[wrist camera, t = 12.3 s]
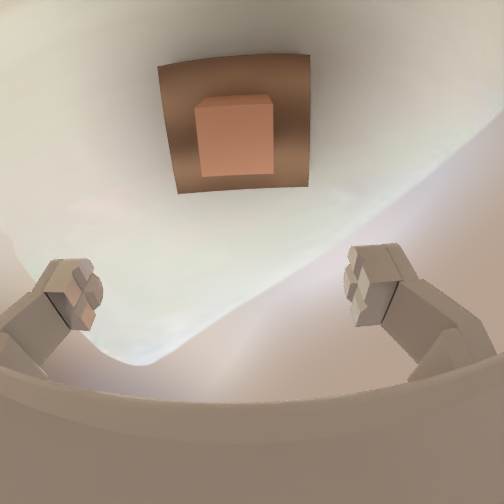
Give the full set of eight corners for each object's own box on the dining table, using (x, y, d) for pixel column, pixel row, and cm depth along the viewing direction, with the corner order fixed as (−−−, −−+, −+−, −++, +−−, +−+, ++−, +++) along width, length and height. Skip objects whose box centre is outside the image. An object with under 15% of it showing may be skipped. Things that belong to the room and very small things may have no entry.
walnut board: (169, 64, 22) (157, 66, 18) (301, 54, 21) (309, 54, 18) (185, 176, 29) (177, 193, 26) (301, 169, 29) (308, 186, 26)
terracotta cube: (204, 97, 20) (194, 108, 17) (267, 94, 20) (272, 104, 17) (210, 153, 24) (202, 177, 20) (268, 150, 24) (273, 173, 20)
